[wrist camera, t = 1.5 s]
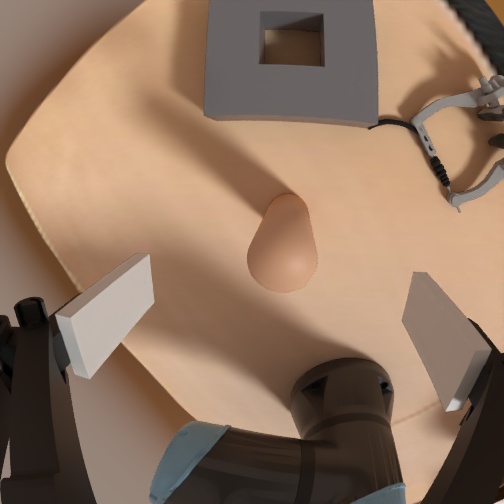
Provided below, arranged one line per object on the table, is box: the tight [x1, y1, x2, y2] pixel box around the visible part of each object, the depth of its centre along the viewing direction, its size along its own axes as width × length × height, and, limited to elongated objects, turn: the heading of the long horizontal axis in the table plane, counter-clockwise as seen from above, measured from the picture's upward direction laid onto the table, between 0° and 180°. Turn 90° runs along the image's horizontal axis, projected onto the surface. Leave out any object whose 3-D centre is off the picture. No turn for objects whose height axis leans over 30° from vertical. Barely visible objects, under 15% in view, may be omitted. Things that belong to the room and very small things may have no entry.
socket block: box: [204, 0, 378, 128], centre depth 25 cm, size 16×16×5 cm
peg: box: [247, 194, 318, 293], centre depth 26 cm, size 4×4×15 cm
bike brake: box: [368, 75, 504, 213], centre depth 25 cm, size 14×7×20 cm
